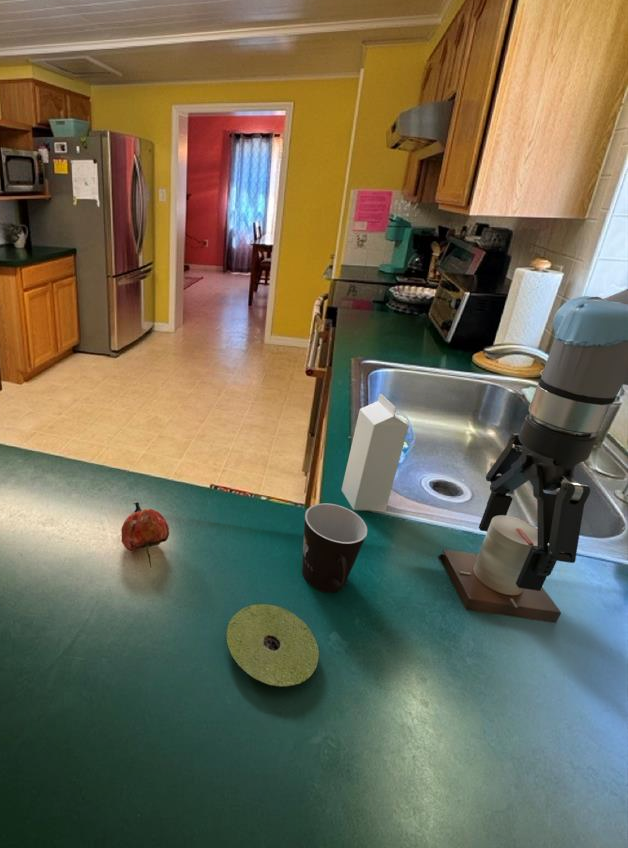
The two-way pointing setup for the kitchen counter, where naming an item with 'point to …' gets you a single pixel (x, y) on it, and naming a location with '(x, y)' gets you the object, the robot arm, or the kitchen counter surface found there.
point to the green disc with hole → (272, 645)
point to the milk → (374, 456)
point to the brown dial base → (495, 592)
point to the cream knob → (505, 553)
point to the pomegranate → (144, 530)
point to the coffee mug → (331, 545)
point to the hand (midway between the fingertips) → (506, 556)
